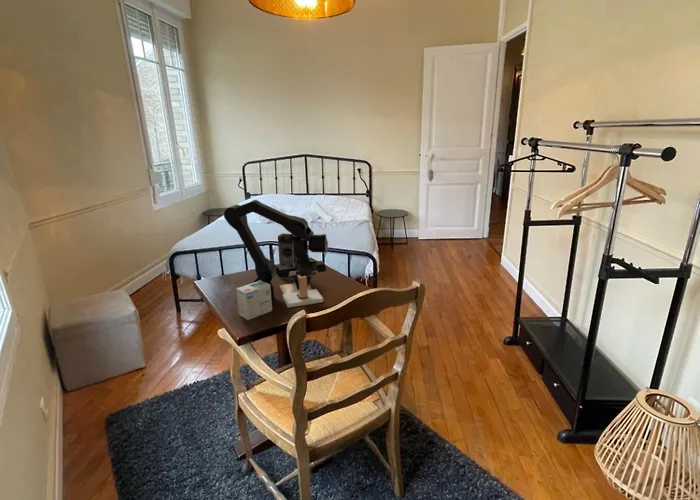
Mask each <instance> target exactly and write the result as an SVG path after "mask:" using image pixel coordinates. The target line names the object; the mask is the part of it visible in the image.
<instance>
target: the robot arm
mask: <svg viewBox="0 0 700 500" xmlns="http://www.w3.org/2000/svg"><path fill="white" fill-rule="evenodd" d="M251 213H255V214H256V215H259V216H261V217H263V218H264V219H268V220H269V221H271V222H274V223H276V224H278V225H280V226H282V228H284V229H285V230H286V231H287V232H289V234H291V235H290V237H289V238H288V239H287V241H292V242H293V261H294V263H293V265H294V267H291V268H288V267H287V266H286V265H284V266H280V265H279V266H278V265H276V264H275V262H274V259H273V258H271V259H268V258H267V257H266V256H265V254H264V252H263V250H262V249H261V247H260V245H259V243H258V241H257V239H256V238H255V236H254V234H253V232H252V230H251V229H250V226H249V224H248V216H247V215H248V214H251ZM223 217H224V219H225V221H226V222H227V224H228V225H229V226H230V227H231V228H233V230H235V231H236V232H237V234H238V236H239V238H240V239H241V241H242V243H243V245H244V246H245V249H246V250H247V252H248V254H249V256H250V258H252V259H251V260H252V261H253V263H254V269H255V274H256V276H257V277H256V278H255V279H254V280H253V281H252V283H254V282H257V281H260V280H261V281H263V282H265V283H268V284H270V289H271V301H273V300H275V299H274V297H275V289H274V286H273V283H272V281H273V280H274V278H275V276H277V277H278V278H280V279H282V277H288V276H289V277H290V278H293V280H292V281H293V283H295V285H296V287H297V290H299V284H298V276H297V274H296V272H299V275H300V276H306V277H307V288H308V285H310V282H311V280H312V277H313V276H315V275H316V274H317V273H316V271H317V272H318V273H323V272H324V273H325V272H327V265H326V264H325V263H324V262H323V260H318V261H316V260H315V261H310V257H309V256H310V255H309V252H311V253H327V252H328V250H329V249H328V248H329V247H328V246H329V243H328V242H329V241H328V238H327V234H323V233H322V234H314V231H313V230H312V229H311V228H310V226H309V224H308V223H309V222H308V221H307V219H306V218H304V217H299V216H296V215H289V214H286V213H284V212H282V211H281V210H277V209H276V208H273V207H271V206H269V205H267V204H265V203H263V202H261V201H259V199H254V200H251V201H249V202H247V203H244V204H241V205H240V204H233V205H231V206H229V207H227V208H225V209H224V212H223Z"/></svg>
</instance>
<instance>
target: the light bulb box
mask: <svg viewBox="0 0 700 500" xmlns="http://www.w3.org/2000/svg"><path fill="white" fill-rule="evenodd" d="M253 282H254V281H253ZM253 282H251V283H249V284H246V285H243V286H240V287H239V286H238V287H236V288H235V290H236V298H237V308H238V315H239V316H241V317H242V318H243V319H245V320H246V321H250V320H251V319H255V318H257V317H260V316H262V315H265V314H268V313H271V312H273V305H272V304H273V303H272V301H273V300H271V289H270V284H268V283H265V282H263V281H261V280H260V281H257V282H254V283H253Z"/></svg>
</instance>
